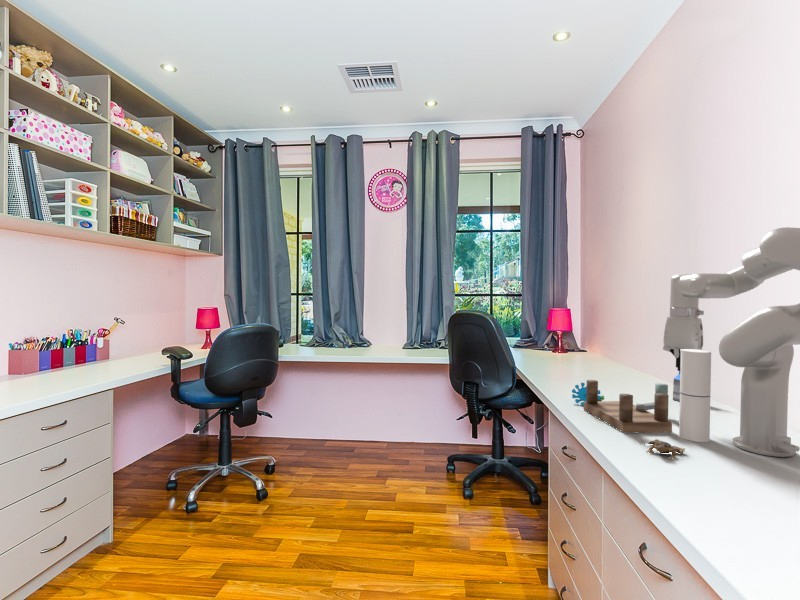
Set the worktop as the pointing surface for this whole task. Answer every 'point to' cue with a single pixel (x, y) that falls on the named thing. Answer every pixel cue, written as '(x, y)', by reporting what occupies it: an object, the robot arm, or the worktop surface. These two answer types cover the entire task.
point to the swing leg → (642, 407)
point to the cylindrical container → (695, 395)
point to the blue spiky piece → (583, 394)
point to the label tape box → (676, 388)
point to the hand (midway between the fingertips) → (681, 370)
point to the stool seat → (628, 412)
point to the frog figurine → (664, 448)
